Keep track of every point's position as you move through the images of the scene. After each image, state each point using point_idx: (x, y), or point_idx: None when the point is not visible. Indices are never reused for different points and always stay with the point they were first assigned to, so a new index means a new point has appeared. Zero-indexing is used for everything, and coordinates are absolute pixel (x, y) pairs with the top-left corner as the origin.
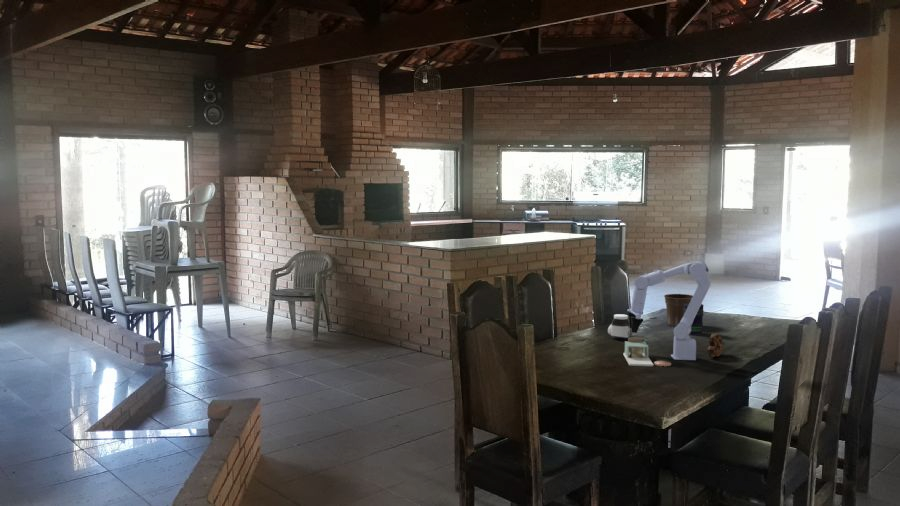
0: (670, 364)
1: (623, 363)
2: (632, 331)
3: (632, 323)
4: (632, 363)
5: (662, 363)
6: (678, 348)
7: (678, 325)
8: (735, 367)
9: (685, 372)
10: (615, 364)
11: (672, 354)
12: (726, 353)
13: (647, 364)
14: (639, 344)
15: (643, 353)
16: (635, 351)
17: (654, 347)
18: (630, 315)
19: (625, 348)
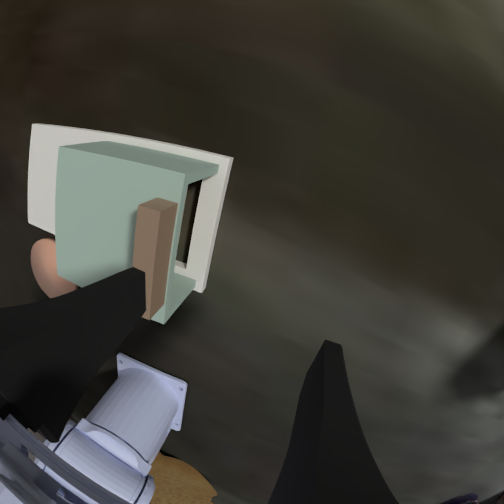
0: (42, 288)
1: (64, 103)
2: (124, 273)
3: (32, 303)
4: (34, 138)
5: (42, 265)
6: (103, 396)
7: (36, 462)
8: (79, 420)
9: (6, 284)
10: (58, 64)
11: (184, 389)
12: (217, 491)
13: (28, 199)
14: (89, 245)
15: (197, 278)
16: None
17: (360, 399)
18: (301, 496)
19: (168, 159)
